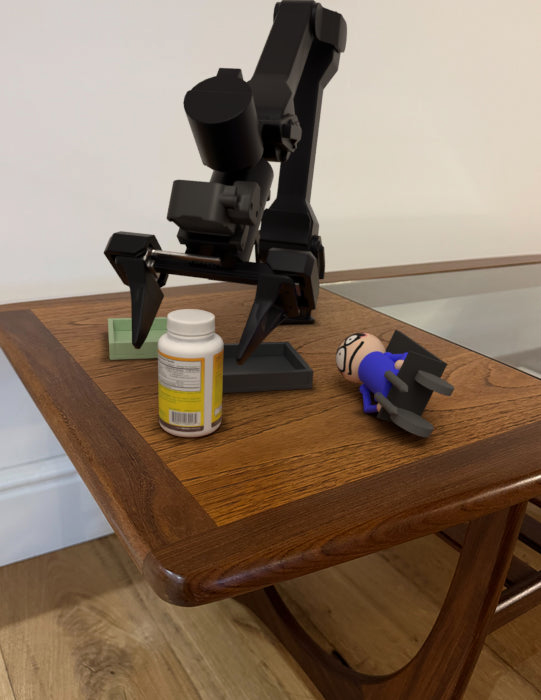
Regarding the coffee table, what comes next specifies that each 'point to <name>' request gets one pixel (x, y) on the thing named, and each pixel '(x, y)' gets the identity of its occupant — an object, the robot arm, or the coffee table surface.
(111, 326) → the sage tray
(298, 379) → the charcoal tray
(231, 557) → the coffee table surface
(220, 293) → the coffee table surface
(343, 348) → the character figurine
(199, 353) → the supplement bottle
